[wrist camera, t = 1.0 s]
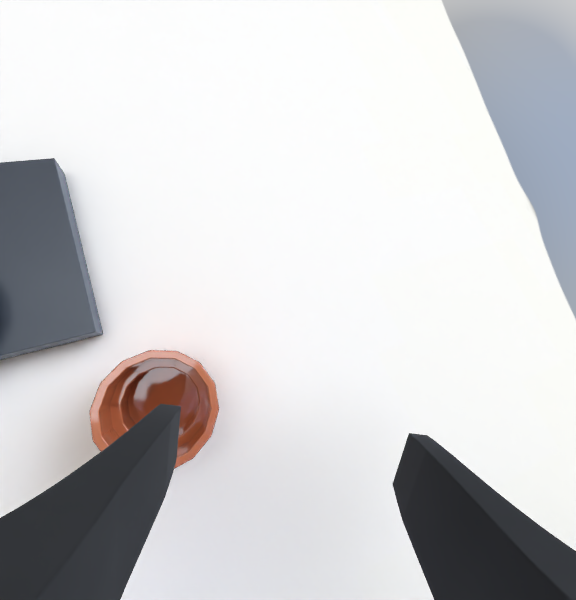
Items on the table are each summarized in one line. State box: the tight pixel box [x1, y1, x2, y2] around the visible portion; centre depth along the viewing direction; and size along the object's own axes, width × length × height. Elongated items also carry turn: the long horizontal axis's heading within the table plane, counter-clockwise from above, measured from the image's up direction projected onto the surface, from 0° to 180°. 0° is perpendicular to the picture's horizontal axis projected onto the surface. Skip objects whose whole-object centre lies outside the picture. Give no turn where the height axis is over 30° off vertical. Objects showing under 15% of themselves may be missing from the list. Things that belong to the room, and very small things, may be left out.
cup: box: [90, 350, 219, 469], centre depth 18 cm, size 6×6×5 cm
